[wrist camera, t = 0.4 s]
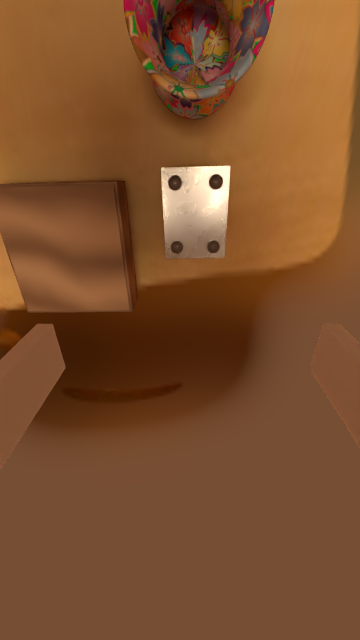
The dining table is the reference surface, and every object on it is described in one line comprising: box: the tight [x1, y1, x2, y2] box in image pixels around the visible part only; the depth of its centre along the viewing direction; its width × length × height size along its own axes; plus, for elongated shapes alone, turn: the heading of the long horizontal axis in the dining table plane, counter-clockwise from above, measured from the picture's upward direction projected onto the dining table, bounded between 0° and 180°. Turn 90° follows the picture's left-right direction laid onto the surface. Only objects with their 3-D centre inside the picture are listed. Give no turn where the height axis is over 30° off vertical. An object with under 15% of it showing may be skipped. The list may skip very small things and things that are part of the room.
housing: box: [161, 166, 230, 259], centre depth 27 cm, size 8×6×8 cm
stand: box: [0, 181, 138, 312], centre depth 32 cm, size 15×14×4 cm
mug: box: [123, 0, 274, 119], centre depth 20 cm, size 12×9×11 cm
